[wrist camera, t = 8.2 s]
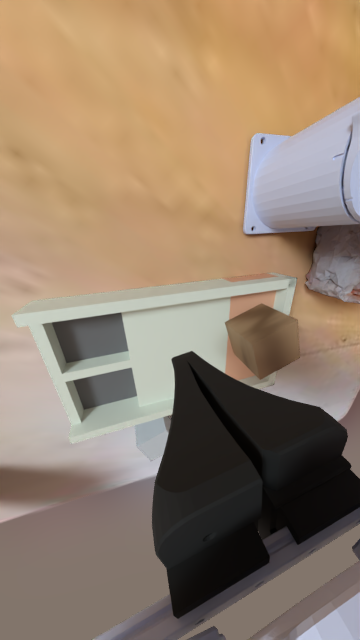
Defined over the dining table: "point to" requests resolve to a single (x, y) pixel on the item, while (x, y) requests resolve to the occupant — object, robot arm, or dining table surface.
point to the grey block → (153, 437)
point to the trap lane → (142, 344)
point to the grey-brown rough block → (337, 262)
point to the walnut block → (264, 339)
